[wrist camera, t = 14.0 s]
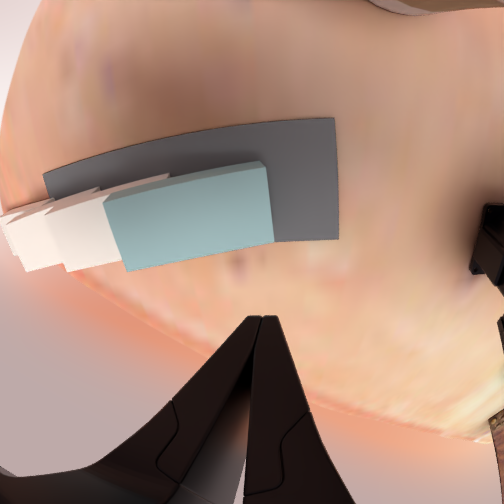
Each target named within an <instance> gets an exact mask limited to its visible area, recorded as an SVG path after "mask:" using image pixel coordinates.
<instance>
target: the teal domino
mask: <svg viewBox="0 0 504 504" xmlns="http://www.w3.org/2000/svg"><path fill="white" fill-rule="evenodd" d="M102 204H103V207H104V210H105V213H106V216H107V219H108V222H109V225H110V228H111V231H112V233H113V236H114V239H115V242H116V244H117V247H118V250H119V252H120V255H121V258H122V260H123V263H124V265H125V268H126V270H127V272H130V271H134V270H139V269H144V268H149V267H154V266H159V265H164V264H169V263H174V262H178V261H183V260H188V259H193V258H198V257H203V256H208V255H213V254H218V253H223V252H228V251H233V250H238V249H243V248H248V247H253V246H258V245H263V244H268V243H273V242H274V233H273V224H272V215H271V206H270V198H269V189H268V181H267V173H266V167H265V166H264V165H263V164H262V163H261V162H260V161H253V162H247V163H241V164H236V165H230V166H225V167H219V168H214V169H209V170H204V171H199V172H194V173H190V174H185V175H180V176H176V177H172V178H167V179H163V180H159V181H155V182H151V183H147V184H143V185H139V186H135V187H131V188H127V189H124V190H120V191H117V192H113V193H111V194H110V195H109V196H108V197H107V198H106V199H105V201H104V202H103V203H102Z"/></svg>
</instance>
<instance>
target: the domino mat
mask: <svg viewBox="0 0 504 504" xmlns="http://www.w3.org/2000/svg"><path fill="white" fill-rule="evenodd" d="M253 161H260V162H261V163H262V164H263V165H264V166H265V167H266V173H267V181H268V189H269V198H270V206H271V215H272V224H273V233H274V242H286V241H310V240H335V239H339V201H338V168H337V148H336V133H335V120H334V118H315V119H297V120H284V121H272V122H262V123H253V124H245V125H237V126H230V127H223V128H216V129H210V130H204V131H198V132H193V133H187V134H182V135H177V136H172V137H168V138H163V139H158V140H154V141H150V142H145V143H141V144H137V145H133V146H129V147H126V148H122V149H118V150H115V151H111V152H108V153H104V154H101V155H97V156H94V157H91V158H88V159H85V160H81V161H78V162H75V163H72V164H69V165H67V166H64V167H61V168H58V169H55V170H53V171H50V172H47V173H45V174H43V178H44V182H45V185H46V188H47V191H48V194H49V197H50V198H54V199H55V201H57V200H59V199H62V198H65V197H68V196H71V195H74V194H77V193H80V192H83V191H86V190H89V189H92V188H95V187H100V190H101V191H102V190H106V189H109V188H112V187H116V186H119V185H123V184H127V183H130V182H134V181H138V180H142V179H146V178H149V177H153V176H158V175H162V174H166V173H170V178H172V177H176V176H180V175H185V174H190V173H194V172H199V171H204V170H209V169H214V168H219V167H225V166H230V165H236V164H241V163H247V162H253Z"/></svg>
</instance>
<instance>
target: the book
mask: <svg viewBox="0 0 504 504" xmlns="http://www.w3.org/2000/svg"><path fill="white" fill-rule="evenodd" d="M489 425H490V429H491V433H492V438H493V442H494V447H495V452H496V457H497V463H498V469H499V475H500V483H501V492H502V504H504V409H503V410H502V411H500V412H499V413H498V414H496V415H495V416H493V417H491V418H490V419H489Z"/></svg>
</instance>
